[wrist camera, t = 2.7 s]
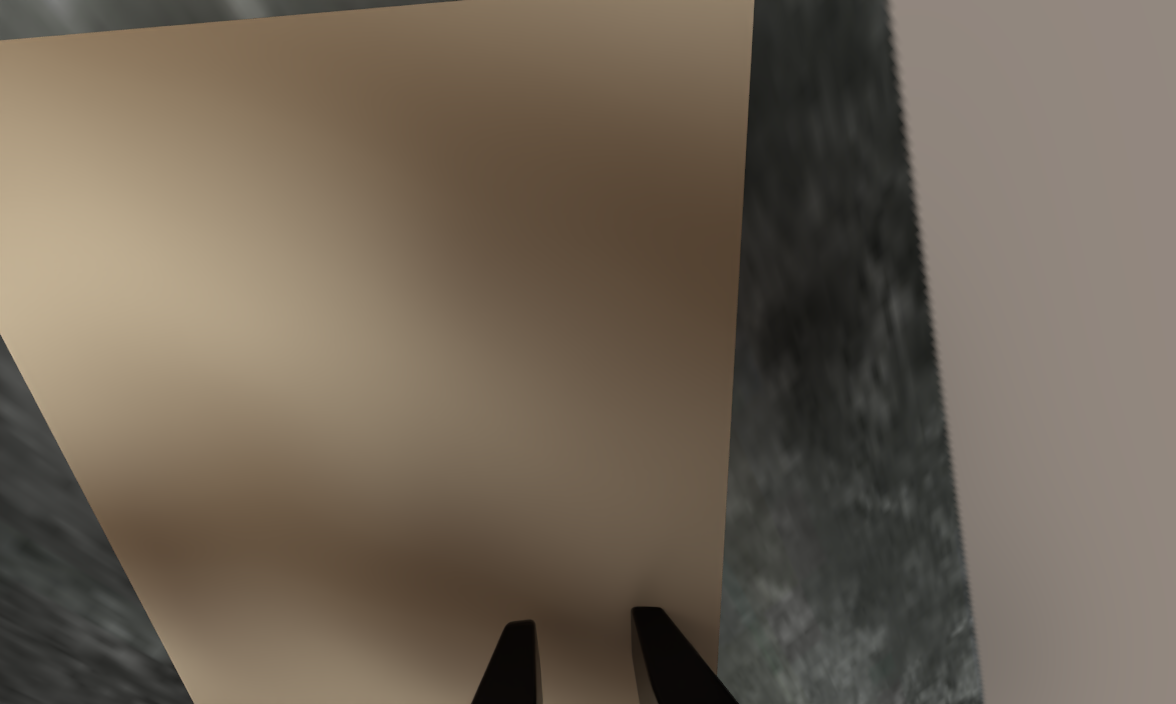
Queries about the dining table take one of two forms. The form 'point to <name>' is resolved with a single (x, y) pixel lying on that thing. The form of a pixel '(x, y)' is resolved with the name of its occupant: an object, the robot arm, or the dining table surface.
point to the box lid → (390, 330)
